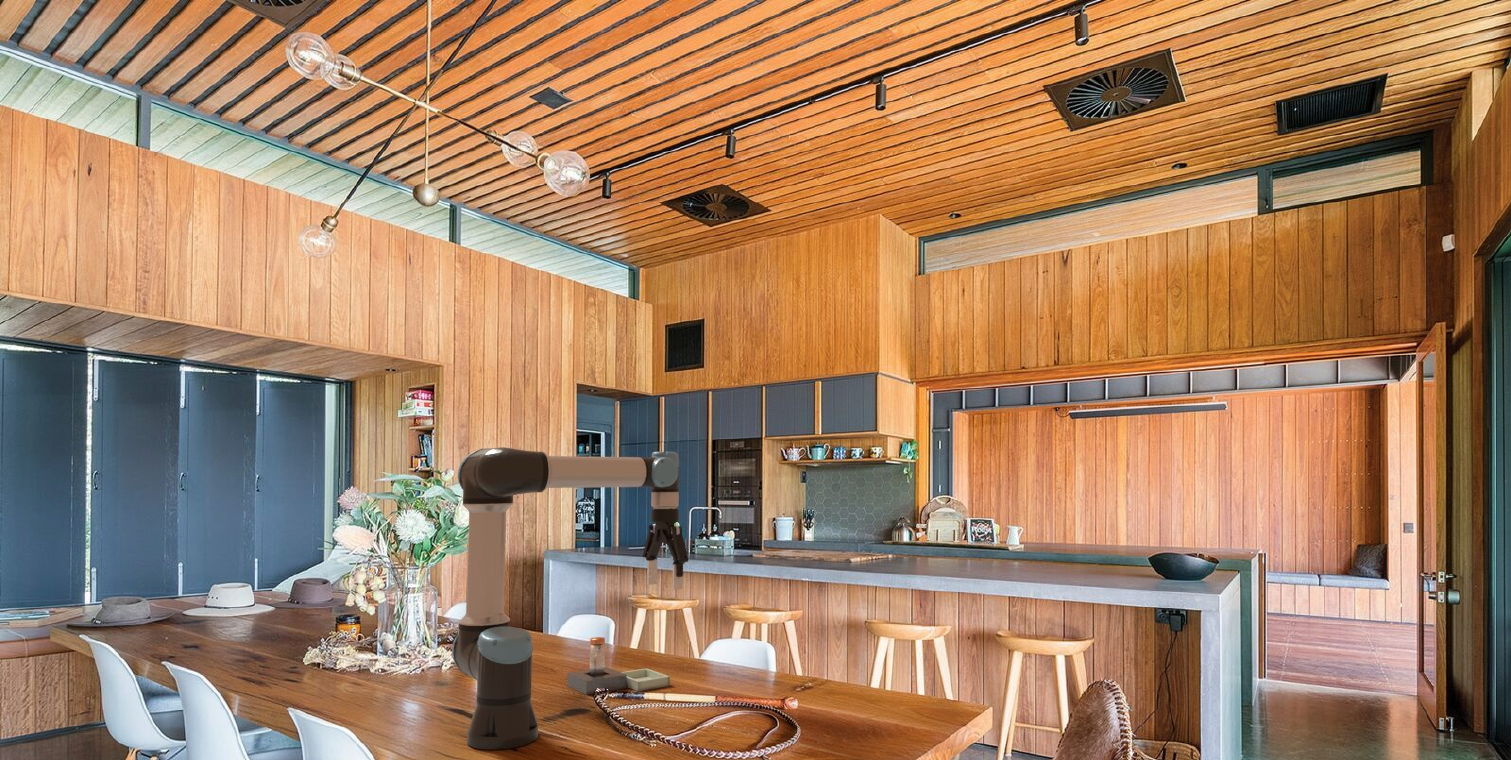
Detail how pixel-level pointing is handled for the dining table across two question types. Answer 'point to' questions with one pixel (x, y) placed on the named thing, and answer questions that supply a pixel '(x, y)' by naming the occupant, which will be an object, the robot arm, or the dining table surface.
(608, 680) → the block
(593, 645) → the orange capped vial
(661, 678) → the tray
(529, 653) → the robot arm
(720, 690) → the dining table surface
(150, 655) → the dining table surface
